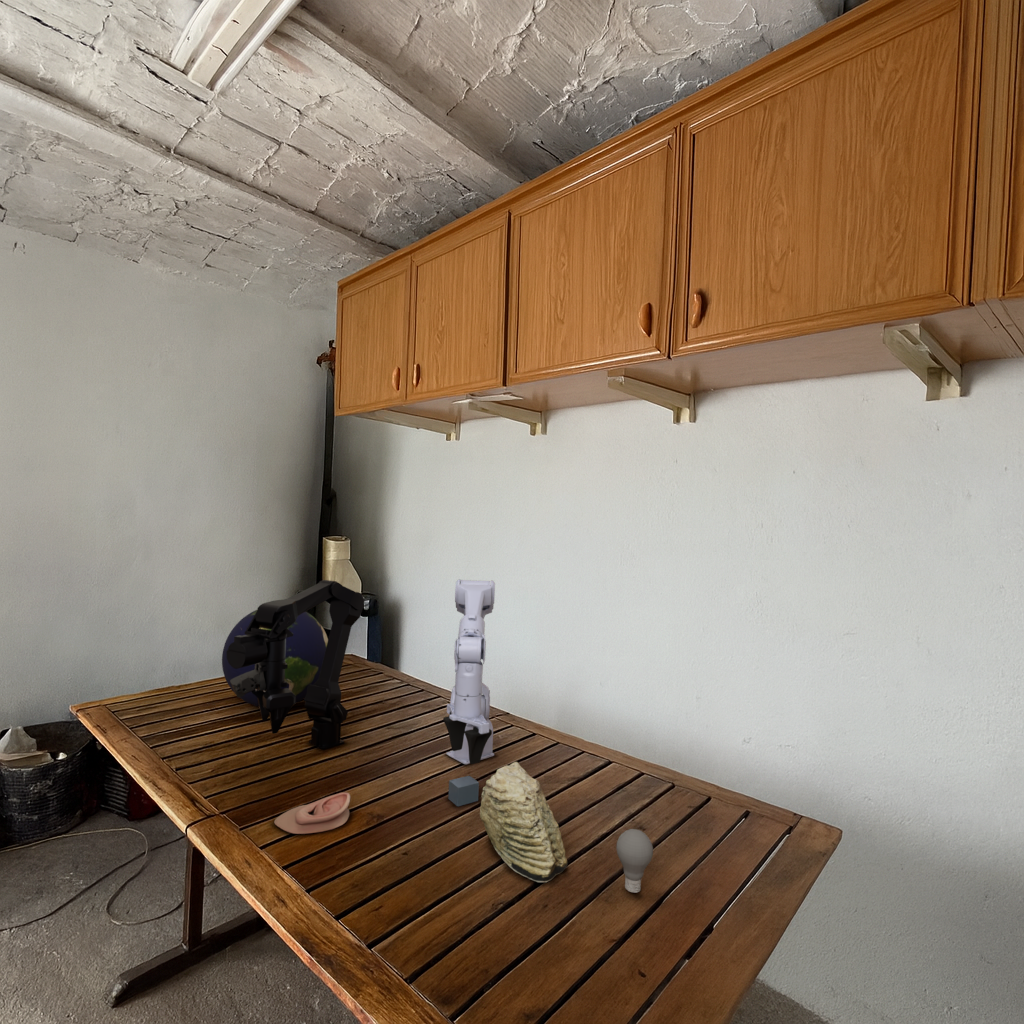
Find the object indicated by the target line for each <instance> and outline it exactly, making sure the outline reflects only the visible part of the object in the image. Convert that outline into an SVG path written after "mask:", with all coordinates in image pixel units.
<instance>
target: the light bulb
mask: <svg viewBox="0 0 1024 1024" xmlns="http://www.w3.org/2000/svg"><path fill="white" fill-rule="evenodd" d="M615 849H616V854H617V857H618V859H619V861H620V863H621V865H622V867H623V873H624V874H623V875H624V876H625V878H624V888H625V890H627V891H628V892H630V893H634V894H635V893H639V892H640V891H641V889H642V887H641V886H642V879H643V877H644V875H645V871H646V868H647V867H648V866H649V864H650V863H651V861H652V859H653V855H654V847H653V843H652V841H651V838H649V836H648V835H647V834H646V833H645V832H643V831H642V830H641V829H636V828H629V829H627V830H625V831H623V832H622V833H621V834H620V835H619V837H618V839H617V841H616V847H615Z"/></svg>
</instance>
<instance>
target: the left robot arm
mask: <svg viewBox="0 0 1024 1024" xmlns="http://www.w3.org/2000/svg"><path fill="white" fill-rule="evenodd" d="M324 602H326V603H327V604H329V608H328V609H329V610H328V613H329V617H330V619H331V626H330V631H329V635H328V643H327V647H326V651H325V655H324V659H323V663H322V667H321V671H320V675H319V679H318V680H317V681H316V682H315V683H314V685H309V686H308V688H307V694H306V697H305V698H304V699H303V702H304V709H305V711H306V714H307V716H308V717H307V718H308V719H309V720H313V721H312V722H313V723H312V727H311V730H310V731H311V732H310V733H311V735H310V739H309V740H308V743H309V744H310V745H313V746H314V747H316V748H318V749H320V750H327V749H329V748H333V747H336V746H340V745H343V744H344V743H345V741H344V740H343V739H341V737H342V735H341V733H342V724H343V723H344V721H346V720H347V717H348V714H349V711H348V710H347V708H345V706H344V705H343V704H342V694H343V693H342V690H341V686H340V683H339V682H340V676H341V672H342V667H343V664H344V660H345V656H346V651H347V646H348V643H349V638H350V635H351V630H352V627H353V626H354V624H355V623H356V622H357V621H358V620H359V619H360V617H361V614H362V612H363V610H364V607H365V598H364V596H363V595H362V593H361V592H358V591H355V590H353V589H351V588H348V587H346V586H344V585H343V584H341V583H339V582H338V581H335V580H331V579H330V580H329V579H323V580H319V582H318V583H316V584H314V585H312V586H310V587H308V588H306V589H304V590H301V591H300V592H298V593H296V594H294V595H292V596H290V597H287V598H284V599H275V600H270V601H267V602H263V603H261V604H260V605H258V607H257V609H258V610H257V609H256V610H257V612H256V614H255V615H254V617H253V619H252V621H251V622H250V624H249V626H248V627H247V629H246V631H245V634H246V635H243V636H240V635H239V636H235V637H234V642H233V643H231V644H230V645H229V647H228V650H227V653H226V655H227V660H228V663H229V664H230V666H232V667H233V668H235V669H238V668H242V667H246V666H250V665H253V664H255V670H252V671H249V672H246V673H244V674H242V675H240V676H237V677H235V678H233V679H231V680H230V683H231V685H232V688H233V691H234V692H233V691H232V692H233V693H234V695H235V696H236V697H237V698H239V697H242V696H244V695H245V694H247V693H249V692H252V693H253V694H254V695H255V696H256V697H257V699H258V703H259V707H258V708H259V711H260V716H261V721H263V722H264V721H265V722H267V721H268V719H269V722H270V729H271V733H272V734H273V735H276V734H278V733H279V731H280V729H281V726H282V725H283V723H284V721H285V719H286V717H287V715H288V714H289V712H290V710H291V708H293V707H294V706H295V705H296V703H295V702H296V695H294V694H293V693H292V692H291V691H290V690H289V689H288V688H284V689H281V687H287V682H286V681H285V669H287V667H288V664H287V663H285V654H286V638H288V637H292V636H293V633H292V632H291V631H289V630H288V627H289V626H291V625H292V624H293V623H294V622H295V621H296V619H297V617H298V616H299V615H300V614H302V613H304V612H305V611H306V612H308V611H309V610H311V609H313V608H315V607H317V606H318V605H320V604H322V603H324ZM260 627H261V628H266V629H272V630H265V629H260Z"/></svg>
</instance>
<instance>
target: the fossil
mask: <svg viewBox="0 0 1024 1024" xmlns="http://www.w3.org/2000/svg"><path fill="white" fill-rule="evenodd" d="M479 819H480V820H481V822H482V823H483V827H484V829H485V832H486V833H487V836H488V838H489V840H490V842H491V844H492V845H493V848H494V850H495V852H496V853H497V854H498V856H500V858H501V859H502V861H503V862H504V863H505V864H506V865H507V867H509V868H510V869H511V870H513V871H514V873H517V874H519V875H520V876H522V877H525V878H527V879H528V880H531V881H533V882H536V883H548V882H550V881H552V880H553V879H554V878H555V877H556V876H557V875H560V874H561V873H563V872H564V871H565V870H566V868H567V867H568V866H569V863H568V859H567V856H566V848H565V847H564V841H563V838H562V834H561V831H560V826H559V824H558V822H557V821H556V818H555V817H554V813H553V811H552V810H551V807H550V805H549V803H548V802H547V799H546V796H545V794H544V790H543V789H542V786H541V784H540V781H539V780H537V779H535V778H533V777H532V776H531V775H529V773H528V772H527V771H526V769H524V768H523V766H521V764H520V763H519V762H518V761H513V762H512V763H511V764H509V765H507V764H506V765H504V766H502V767H500V768H498V769H497V770H496V772H495V773H494V774H492V775H491V776H490V778H489V779H487V780H486V782H485V786H483V788H482V792H481V802H480V808H479Z"/></svg>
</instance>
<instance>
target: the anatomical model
mask: <svg viewBox="0 0 1024 1024" xmlns="http://www.w3.org/2000/svg"><path fill="white" fill-rule="evenodd" d="M350 803H351V794H350V792H347V791H346V792H339V793H336V794H332V795H329V796H326V797H323V798H321V799H318V800H316V801H313V802H311V803H308V804H303V805H299V806H295V807H293V808H291V809H289V810H287V811H285V812H283V813H282V814H280V815H279V816H277V817H276V818H275V819H274V825H275V826H276V827H278V828H280V829H281V830H283V831H285V832H287V833H289V834H293V835H300V834H301V835H305V834H313V833H322V832H326V831H331V830H334V829H336V828H339V827H341V826H343V825H344V824H345V823H347V821H348V820H349V817H350V809H349V808H348V807H349V806H350Z"/></svg>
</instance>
